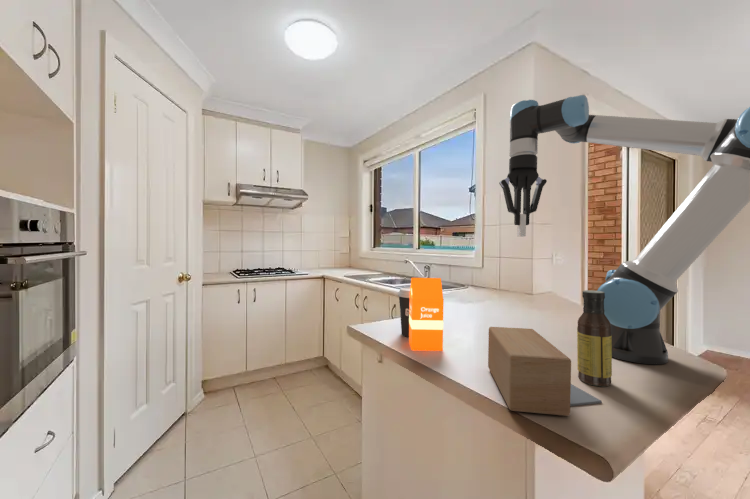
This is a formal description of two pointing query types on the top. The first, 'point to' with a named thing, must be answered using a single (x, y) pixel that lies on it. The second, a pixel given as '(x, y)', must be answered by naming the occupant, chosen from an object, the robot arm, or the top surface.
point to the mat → (581, 397)
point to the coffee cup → (404, 310)
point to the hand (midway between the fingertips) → (521, 236)
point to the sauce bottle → (594, 341)
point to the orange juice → (426, 314)
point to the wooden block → (529, 371)
